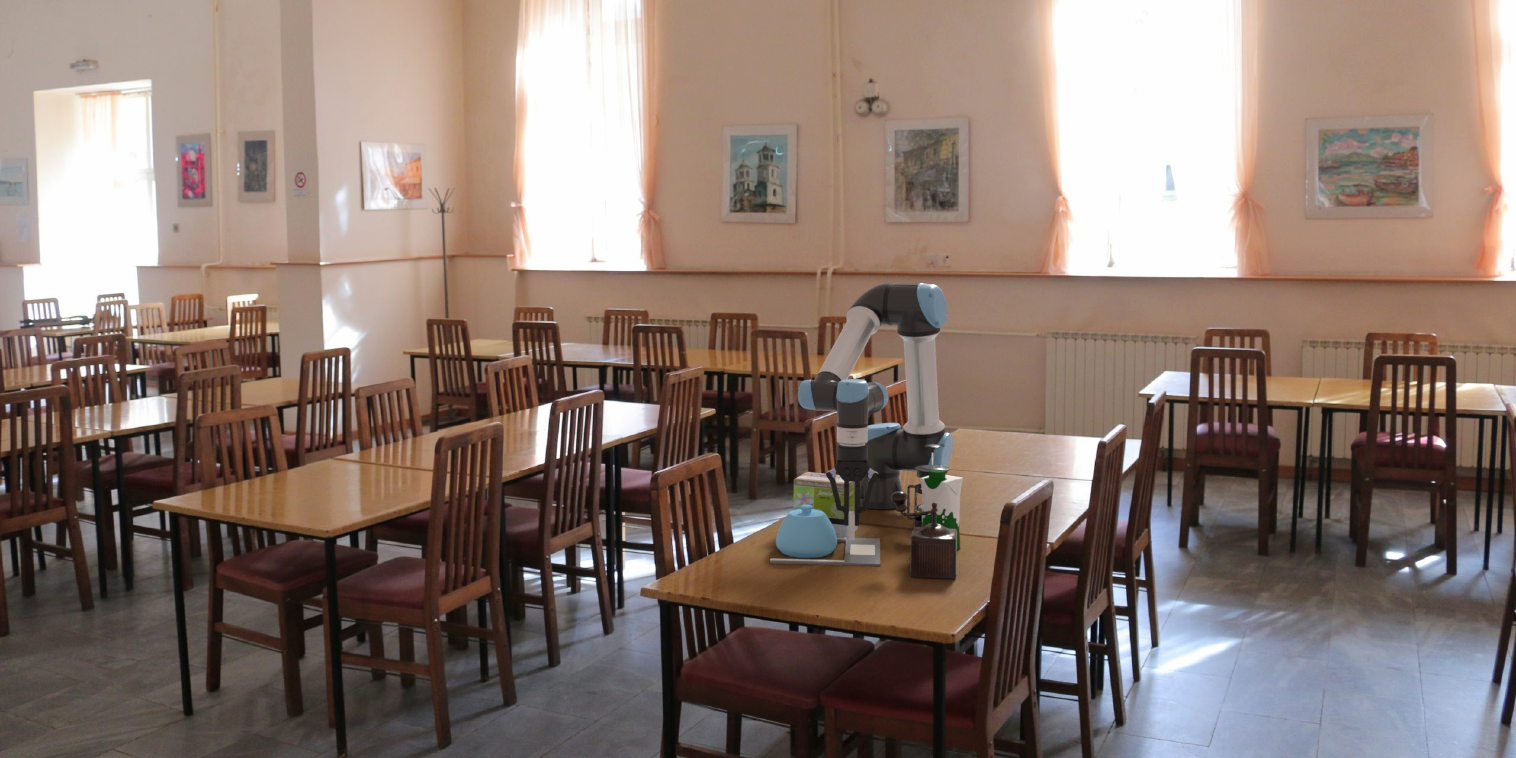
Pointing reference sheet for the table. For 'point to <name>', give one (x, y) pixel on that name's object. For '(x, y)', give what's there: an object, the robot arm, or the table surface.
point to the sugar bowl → (806, 534)
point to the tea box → (824, 498)
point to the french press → (921, 472)
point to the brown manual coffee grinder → (930, 545)
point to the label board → (847, 554)
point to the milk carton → (942, 499)
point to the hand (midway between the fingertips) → (851, 538)
